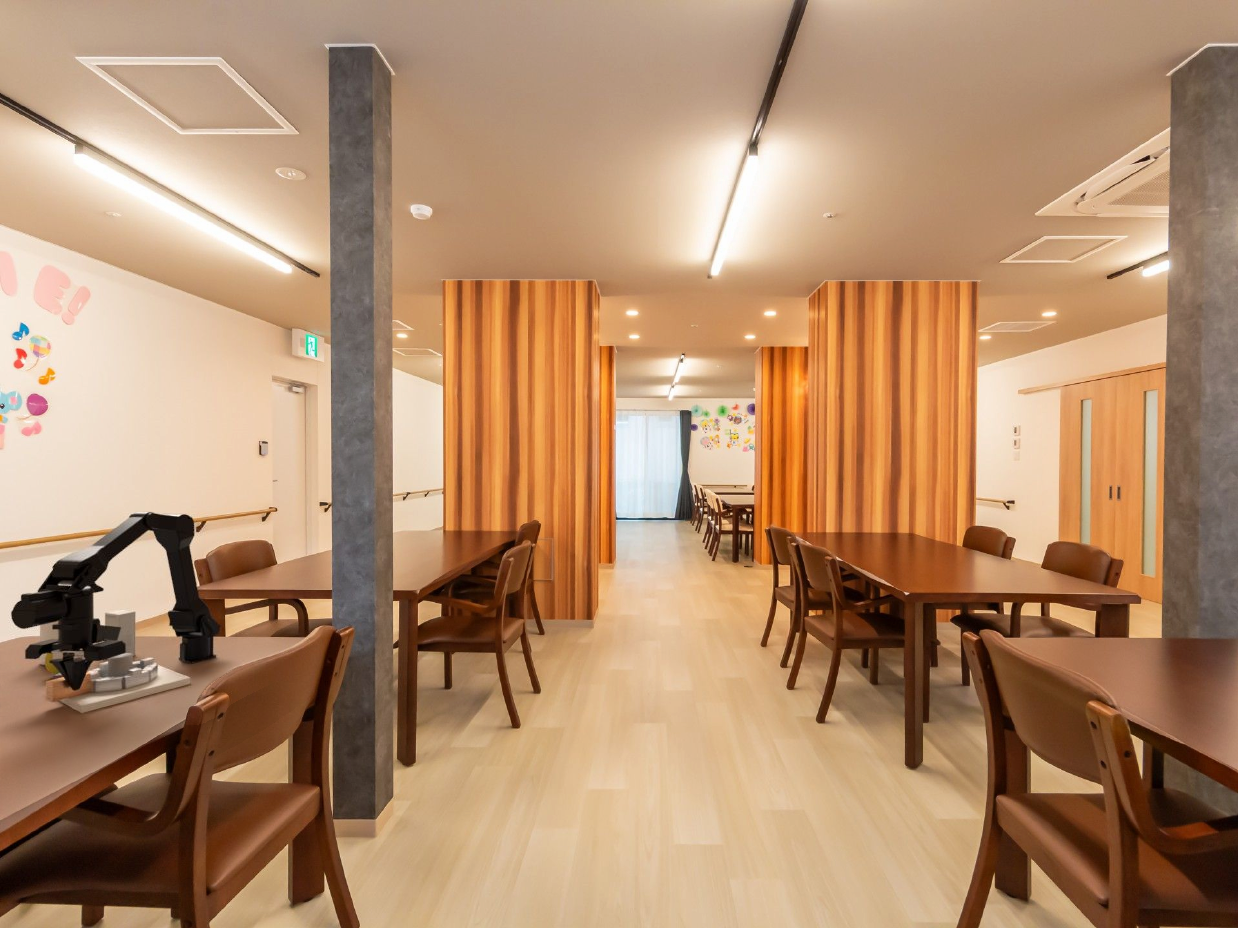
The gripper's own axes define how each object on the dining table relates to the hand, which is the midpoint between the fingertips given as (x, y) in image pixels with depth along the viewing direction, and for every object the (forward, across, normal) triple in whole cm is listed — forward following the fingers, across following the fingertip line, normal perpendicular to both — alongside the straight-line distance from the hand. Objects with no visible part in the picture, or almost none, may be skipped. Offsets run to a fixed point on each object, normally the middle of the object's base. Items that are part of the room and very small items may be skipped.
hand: (76, 689), depth 130 cm
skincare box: (+3, +23, -31) cm, 38 cm away
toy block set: (+2, +1, -7) cm, 7 cm away
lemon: (+3, +23, -16) cm, 28 cm away
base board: (+3, 0, -10) cm, 11 cm away
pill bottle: (+3, +34, -25) cm, 42 cm away
